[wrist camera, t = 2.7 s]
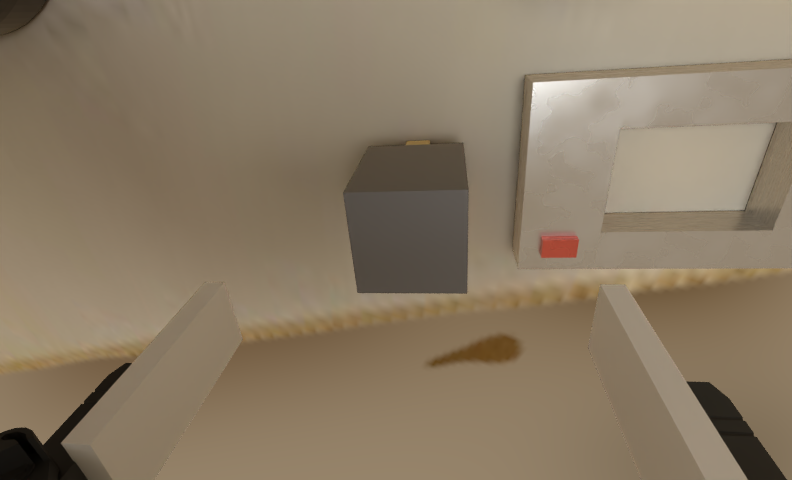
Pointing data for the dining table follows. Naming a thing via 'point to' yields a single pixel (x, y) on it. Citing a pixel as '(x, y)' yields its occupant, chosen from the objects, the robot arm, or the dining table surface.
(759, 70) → the socket
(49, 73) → the dining table surface
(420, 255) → the plug
